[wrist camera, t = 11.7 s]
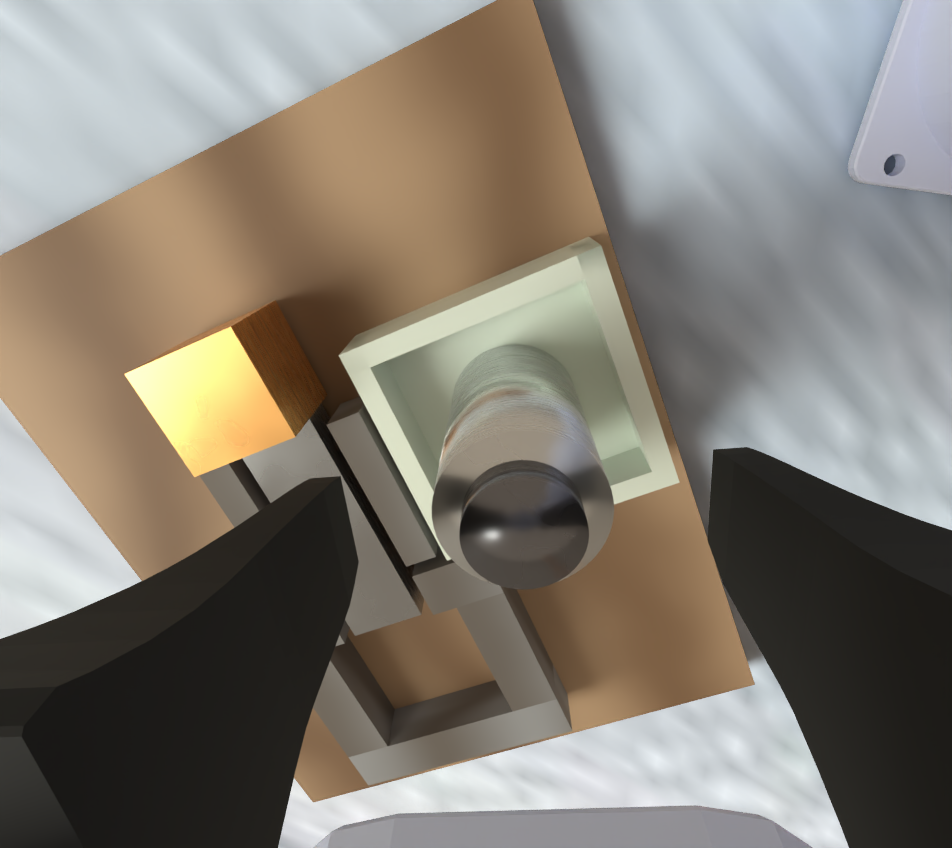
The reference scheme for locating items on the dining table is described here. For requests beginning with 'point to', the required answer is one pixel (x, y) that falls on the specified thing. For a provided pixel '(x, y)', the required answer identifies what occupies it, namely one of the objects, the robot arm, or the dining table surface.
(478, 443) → the peg
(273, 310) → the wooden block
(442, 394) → the tray
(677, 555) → the holder
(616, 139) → the dining table surface
